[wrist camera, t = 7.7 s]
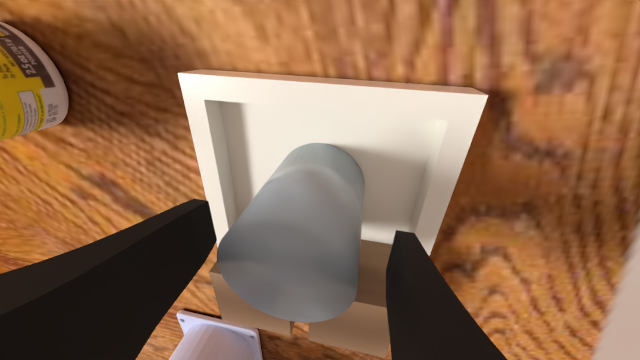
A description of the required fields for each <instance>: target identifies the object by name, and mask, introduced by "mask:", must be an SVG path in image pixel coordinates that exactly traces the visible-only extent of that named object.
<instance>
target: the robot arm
mask: <svg viewBox="0 0 640 360" xmlns="http://www.w3.org/2000/svg"><path fill="white" fill-rule="evenodd" d="M216 241H217V238H216V234H215V229H214V225H213V220H212V215H211V211H210V206H209V202H208V201H205V200H198V199H193V200H190V201H187V202H185V203H182V204H180V205H178V206H175V207H173V208H171V209H169V210H166V211H164V212H162V213H160V214H157V215H155V216H153V217H151V218H149V219H146V220H144V221H142V222H140V223H137V224H135V225H133V226H131V227H128V228H126V229H124V230H121V231H119V232H116V233H114V234H112V235H109V236H107V237H105V238H102V239H100V240H97V241H95V242H93V243H90V244H88V245H85V246H82V247H80V248H77V249H74V250H72V251H69V252H66V253H63V254H61V255H58V256H55V257H52V258H49V259H46V260H43V261H41V262H38V263H34V264H31V265H28V266H25V267H22V268H18V269H15V270H12V271H9V272H5V273H2V274H0V360H135V359H136V358H137V356H138V354H139V353H140V351H141V350H142V348H143V347H144V345H145V343H146V342H147V340H148V339H149V337H150V336H151V334H152V332H153V331H154V329H155V328H156V326H157V325H158V324H159V322H160V321H161V319H162V318H163V317H164V315H165V314H166V313H167V311H168V310H169V309H170V307H171V306H172V305H173V303H174V302H175V301H176V299H177V298H178V297H179V296H180V294H181V293H182V292H183V290H184V289H185V288H186V286H187V285H188V284H189V282H190V281H191V280H192V278H193V277H194V276H195V274H196V273H197V272H198V270H199V269H200V268H201V266H202V265H203V264H204V262H205V260H206V259H207V257H208V255H209V254H210V252H211V250H212V248H213V247H214V245H215V243H216ZM386 307H387V316H388V326H389V335H390V345H391V354H392V360H507V359H506V358H505V356H504V355H503V354H502V353H501V352H500V351H499V349H498V348H497V347H496V346H495V345H494V344H493V342H492V341H491V340H490V339H489V338H488V336H487V335H486V334H485V333H484V332H483V330H482V329H481V328H480V327H479V325H478V324H477V323H476V322H475V320H474V319H473V318H472V316H471V315H470V314H469V312H468V311H467V310H466V309H465V307H464V306H463V305H462V303H461V302H460V301H459V299H458V298H457V296H456V295H455V294H454V292H453V291H452V290H451V288H450V287H449V285H448V284H447V282H446V281H445V279H444V278H443V277H442V275H441V274H440V272H439V271H438V269H437V268H436V266H435V265H434V263H433V262H432V260H431V258H430V257H429V255H428V254H427V252H426V251H425V249H424V247H423V246H422V244H421V242H420V241H419V239H418V238H417V236H416V235H415V233H412V232H406V231H399V230H396V232H395V236H394V240H393V244H392V248H391V252H390V256H389V260H388V264H387V268H386ZM176 315H177V318H178V320H179V323H180V325H181V327H182V330H183V332H184V334H185V335H184V337H183V338H182V340H181V342H180V343H179V345H178V346H177V348H176V349H175V351H174V352H173V354H172V355H171V357H170V358H169V360H263V358H262V352H261V345H260V339H259V332H258V329H257V328H254V327H250V326H246V325H241V324H237V323H233V322H228V321H224V320H222V319H218V318H214V317H209V316H205V315H201V314H196V313H192V312H188V311H184V310H180V311H179V312H178V313H177V314H176Z"/></svg>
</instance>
